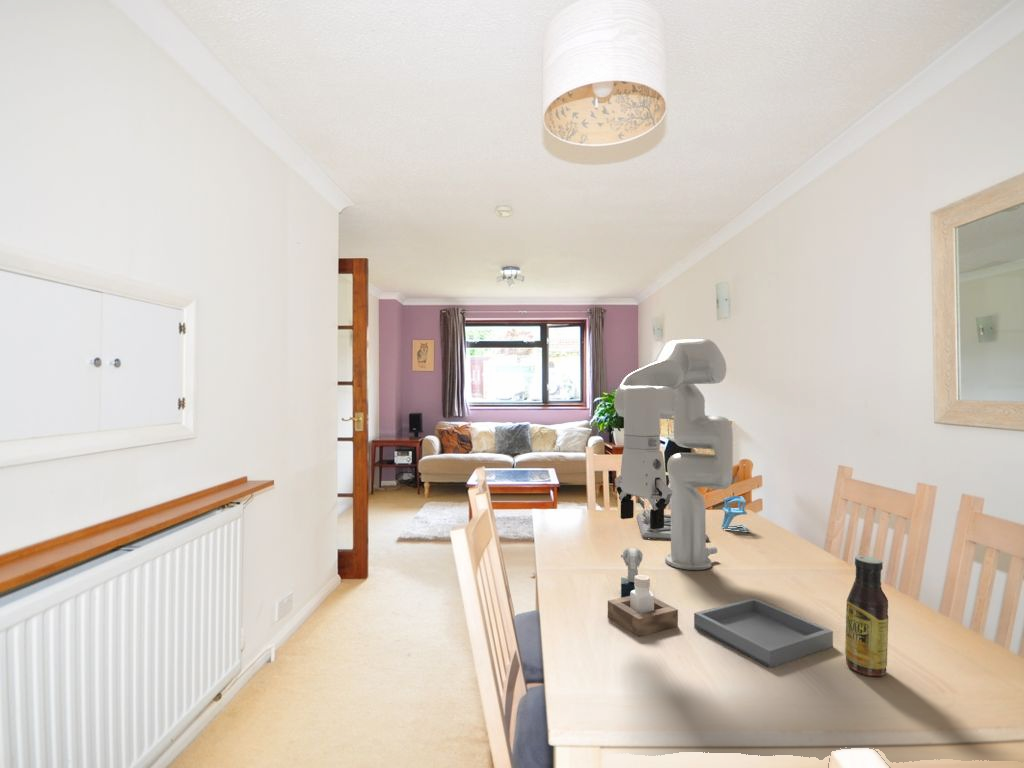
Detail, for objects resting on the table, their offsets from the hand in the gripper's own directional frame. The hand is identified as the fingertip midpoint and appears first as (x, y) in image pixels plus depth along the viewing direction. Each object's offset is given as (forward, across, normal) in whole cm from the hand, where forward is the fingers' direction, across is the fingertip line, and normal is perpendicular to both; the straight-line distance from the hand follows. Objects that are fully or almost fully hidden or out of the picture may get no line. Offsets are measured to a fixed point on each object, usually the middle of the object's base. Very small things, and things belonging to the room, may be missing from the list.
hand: (641, 523), depth 113 cm
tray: (+21, -16, -17) cm, 32 cm away
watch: (+21, +13, -8) cm, 26 cm away
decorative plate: (+21, +55, -59) cm, 84 cm away
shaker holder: (+21, 0, 0) cm, 21 cm away
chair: (+20, +44, -79) cm, 93 cm away
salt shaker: (+21, 0, 0) cm, 21 cm away
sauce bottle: (+21, -33, -23) cm, 46 cm away
